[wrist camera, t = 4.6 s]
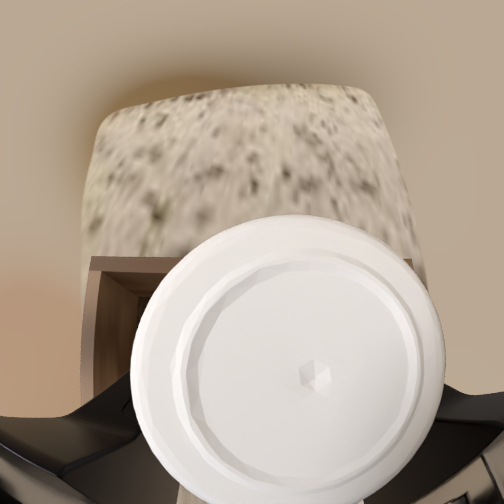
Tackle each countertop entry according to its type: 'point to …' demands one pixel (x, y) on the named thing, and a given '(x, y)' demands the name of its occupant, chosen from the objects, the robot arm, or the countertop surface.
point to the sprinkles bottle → (288, 364)
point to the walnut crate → (116, 315)
